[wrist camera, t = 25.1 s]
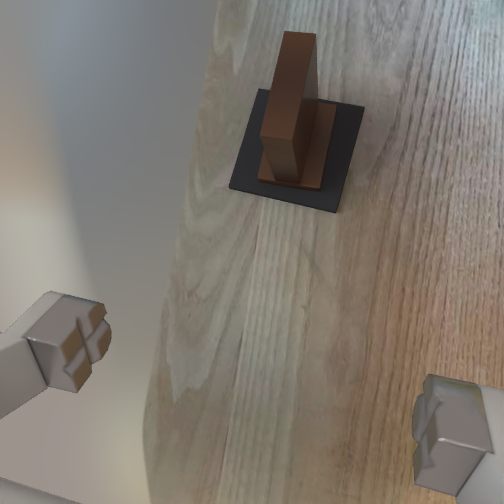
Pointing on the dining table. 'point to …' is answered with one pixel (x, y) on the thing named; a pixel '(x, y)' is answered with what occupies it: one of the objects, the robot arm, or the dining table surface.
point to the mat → (334, 168)
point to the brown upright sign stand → (296, 119)
